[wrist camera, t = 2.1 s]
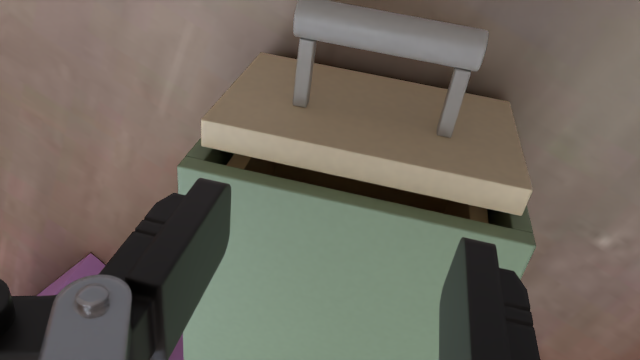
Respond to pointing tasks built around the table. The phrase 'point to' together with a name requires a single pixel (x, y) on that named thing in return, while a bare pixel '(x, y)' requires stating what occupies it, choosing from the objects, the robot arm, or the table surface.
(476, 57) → the drawer
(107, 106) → the table surface
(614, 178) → the table surface
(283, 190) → the cabinet
